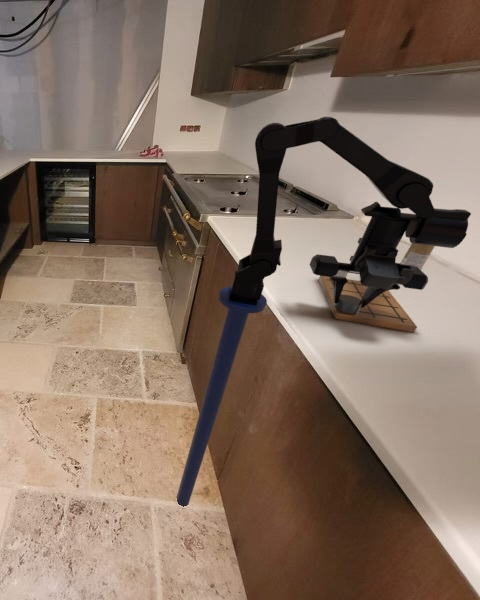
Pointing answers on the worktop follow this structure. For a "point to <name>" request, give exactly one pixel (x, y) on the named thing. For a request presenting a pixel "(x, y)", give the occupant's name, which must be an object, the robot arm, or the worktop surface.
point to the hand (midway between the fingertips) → (347, 304)
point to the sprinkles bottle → (417, 255)
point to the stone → (348, 304)
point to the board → (369, 307)
